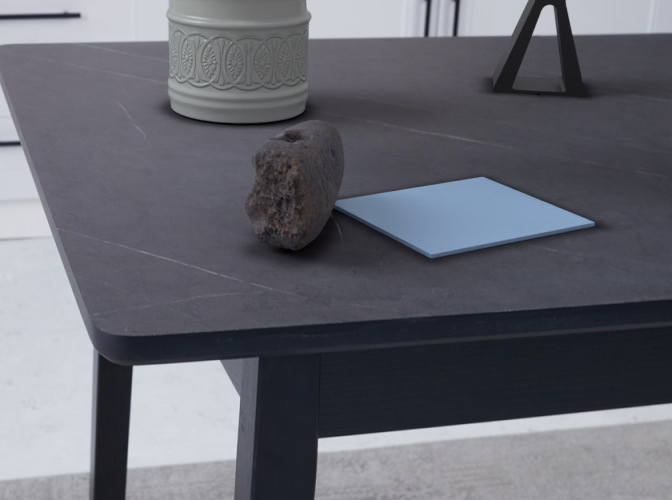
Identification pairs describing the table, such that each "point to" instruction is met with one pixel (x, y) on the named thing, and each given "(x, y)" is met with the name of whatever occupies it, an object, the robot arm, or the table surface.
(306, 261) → the table surface
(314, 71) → the table surface
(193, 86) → the jar
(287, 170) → the perforated stone tool
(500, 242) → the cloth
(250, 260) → the table surface
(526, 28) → the phone stand
